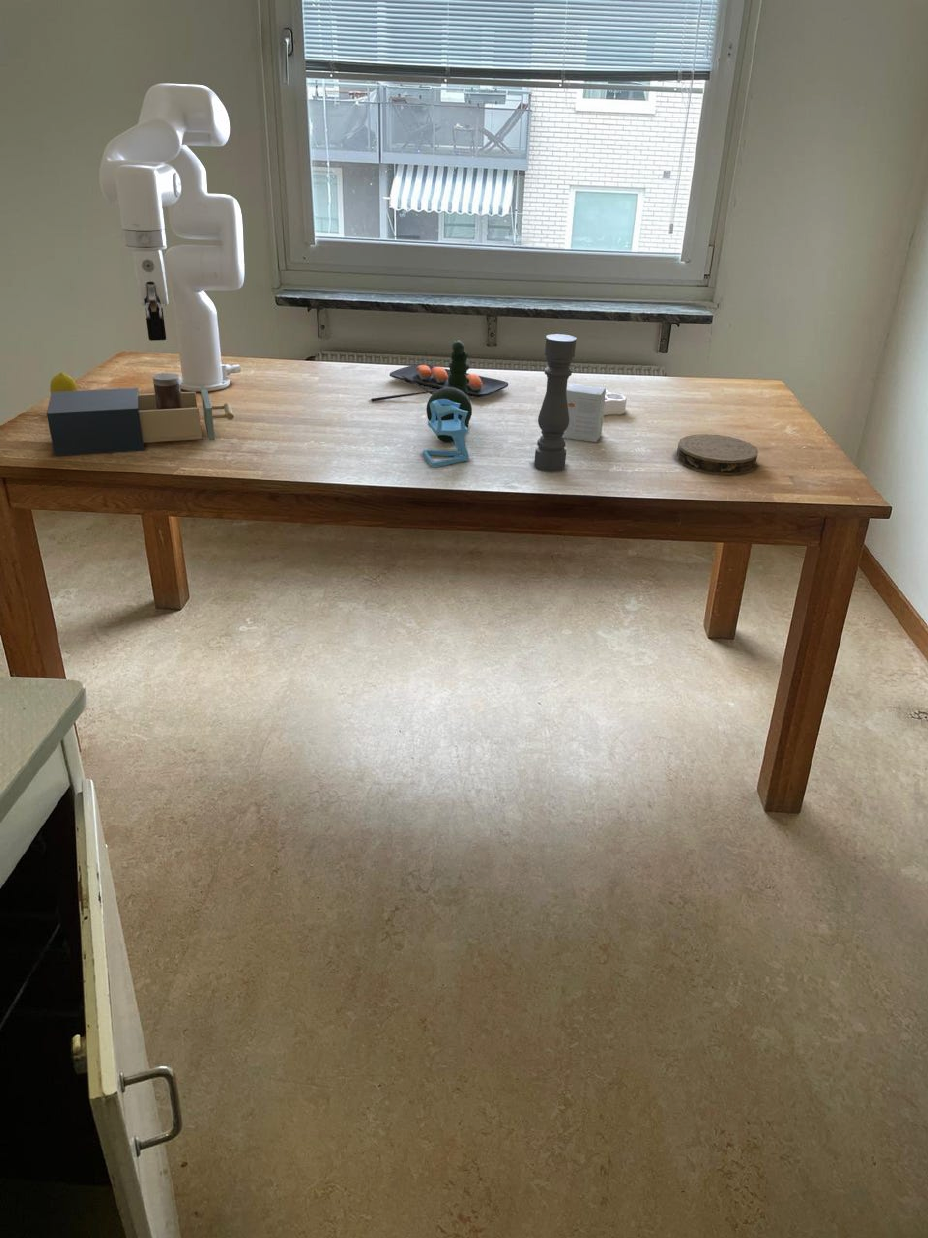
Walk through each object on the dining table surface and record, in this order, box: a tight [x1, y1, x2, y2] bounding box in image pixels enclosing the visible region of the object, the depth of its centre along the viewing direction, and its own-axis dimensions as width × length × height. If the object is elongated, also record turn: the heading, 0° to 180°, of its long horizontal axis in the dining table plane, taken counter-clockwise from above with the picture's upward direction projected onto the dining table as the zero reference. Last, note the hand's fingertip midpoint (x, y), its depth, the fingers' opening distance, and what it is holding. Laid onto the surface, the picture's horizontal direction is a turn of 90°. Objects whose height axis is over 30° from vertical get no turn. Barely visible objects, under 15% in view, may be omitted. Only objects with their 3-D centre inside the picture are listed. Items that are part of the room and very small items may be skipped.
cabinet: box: [46, 387, 145, 457], centre depth 178 cm, size 16×14×8 cm
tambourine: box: [676, 433, 759, 476], centre depth 183 cm, size 16×16×3 cm
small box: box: [562, 383, 607, 443], centre depth 192 cm, size 8×6×10 cm
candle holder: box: [533, 333, 577, 472], centre depth 172 cm, size 6×6×25 cm
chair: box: [422, 399, 470, 468], centre depth 176 cm, size 8×8×12 cm
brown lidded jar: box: [152, 372, 183, 410], centre depth 180 cm, size 5×5×10 cm
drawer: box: [138, 389, 235, 444], centre depth 183 cm, size 20×13×7 cm
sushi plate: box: [370, 363, 509, 402], centre depth 217 cm, size 29×30×4 cm
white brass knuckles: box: [603, 388, 627, 416], centre depth 212 cm, size 3×18×15 cm
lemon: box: [49, 372, 79, 394], centre depth 195 cm, size 6×6×8 cm
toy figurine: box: [426, 340, 473, 444], centre depth 189 cm, size 9×19×25 cm
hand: (157, 334), depth 174 cm, fingers open, 9 cm apart
